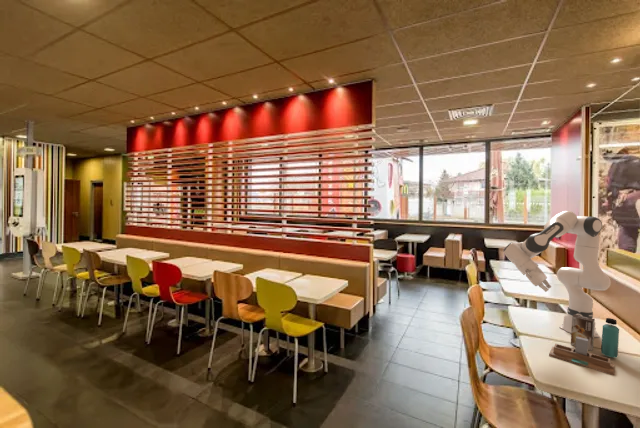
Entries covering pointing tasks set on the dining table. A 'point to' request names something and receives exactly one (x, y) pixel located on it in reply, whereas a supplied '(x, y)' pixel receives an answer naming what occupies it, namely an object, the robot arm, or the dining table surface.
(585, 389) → the dining table surface
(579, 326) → the coffee box
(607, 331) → the beverage bottle
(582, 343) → the panel
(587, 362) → the rack
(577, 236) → the robot arm
